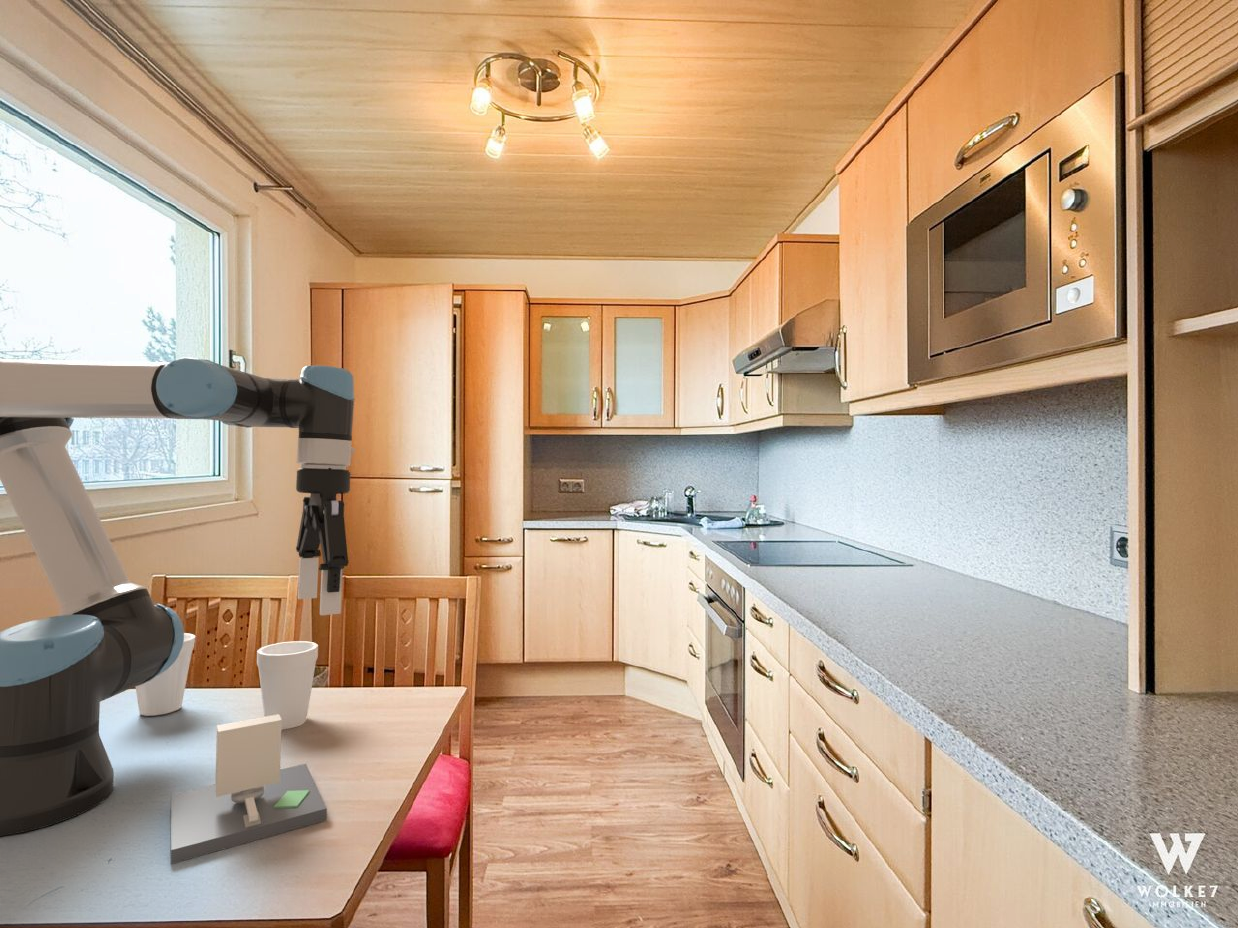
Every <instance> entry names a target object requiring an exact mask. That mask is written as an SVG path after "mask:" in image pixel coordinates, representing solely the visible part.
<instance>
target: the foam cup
mask: <svg viewBox="0 0 1238 928" xmlns="http://www.w3.org/2000/svg"><path fill="white" fill-rule="evenodd" d="M318 656H319V644H317V643H316V642H312V641H308V640H307V641H306V640H305V641H304V640H296V641H295V640H293V641H283V642H282V641H281V642H277V643H272V644H268V645H265V646H262V647H260V648H259V649H257V651H256V666H257V667H258V674H259V683H260V691H261V700H262V707H263V715H264V716H263V717H266V716H272V715H277V714H279V715H280V718H281V731H282V730H288V729H292V728H296V727H299V726H301V725H303V724H304V723H306V721H307V717H308V713H309V706H310V700H311V696H312V695H311V694H312V688H313V683H314V682H313V681H314V676H315V669H316V663H317V660H318V658H319V657H318Z"/></svg>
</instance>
